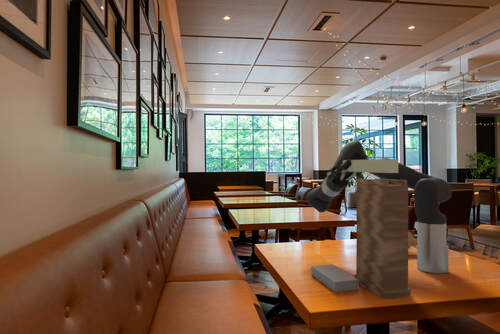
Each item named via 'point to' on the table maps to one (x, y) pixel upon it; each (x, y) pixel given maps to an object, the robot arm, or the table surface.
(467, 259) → the table surface
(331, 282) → the base block
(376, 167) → the pale green bar
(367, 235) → the pedestal
